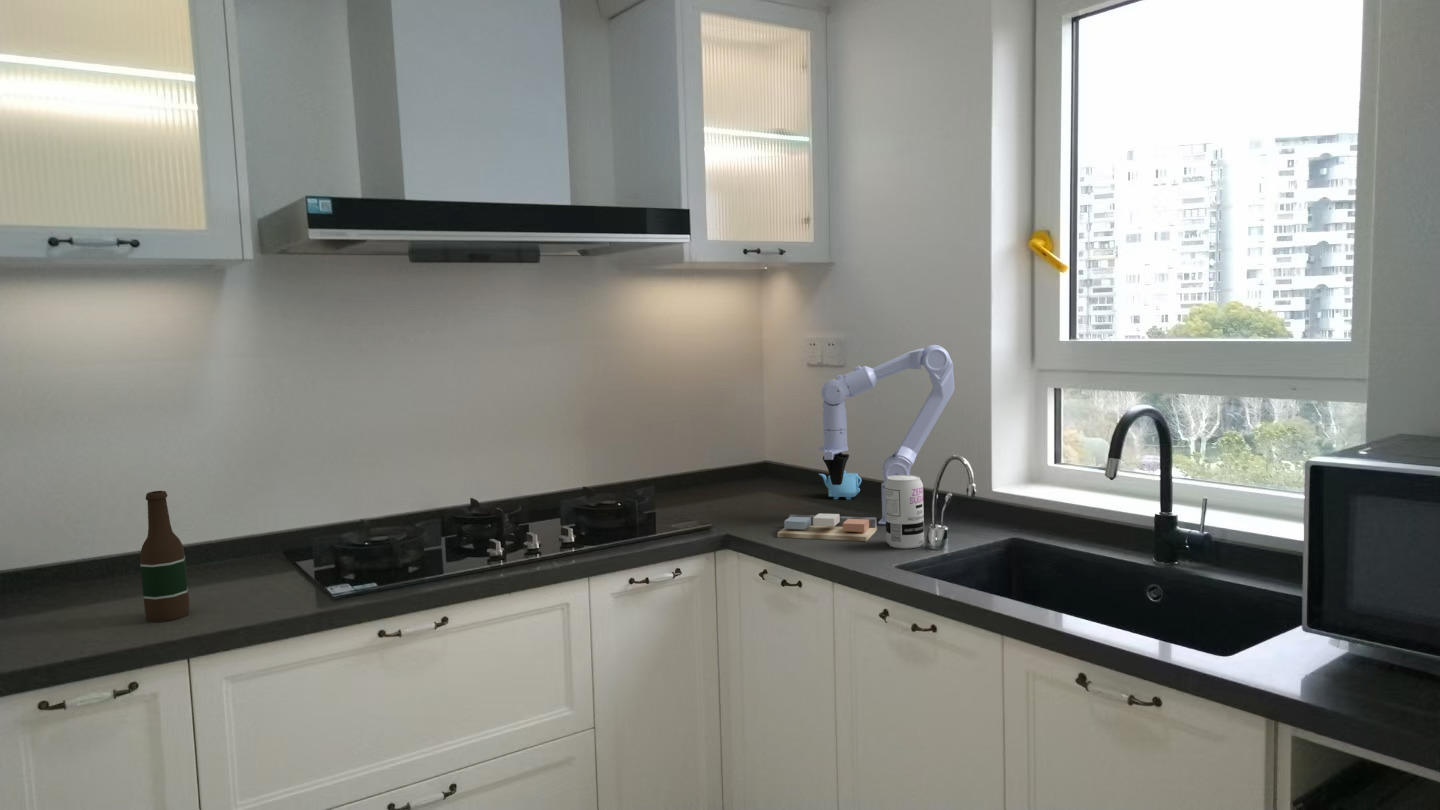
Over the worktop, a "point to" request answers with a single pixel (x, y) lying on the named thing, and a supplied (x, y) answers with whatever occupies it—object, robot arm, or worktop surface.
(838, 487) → the teapot
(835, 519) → the key middle
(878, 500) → the worktop surface
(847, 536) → the keypad base
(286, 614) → the worktop surface
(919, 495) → the supplement can
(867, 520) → the key terracotta
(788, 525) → the key slate
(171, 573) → the beer bottle
